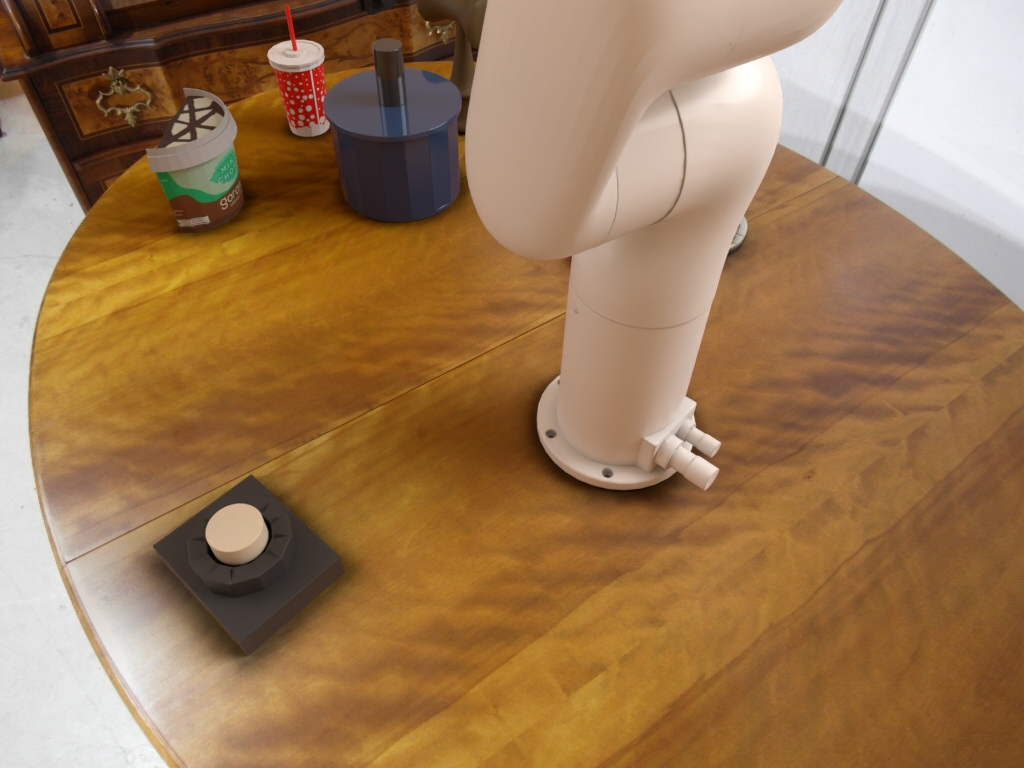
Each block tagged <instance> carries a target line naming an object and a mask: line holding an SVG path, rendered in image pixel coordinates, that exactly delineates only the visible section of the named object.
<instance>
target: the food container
mask: <svg viewBox="0 0 1024 768" xmlns="http://www.w3.org/2000/svg"><path fill="white" fill-rule="evenodd" d="M182 90H183V93H184V97H185V99H184V100H183V103H182V105H181V107H180V108H179V110H178V111H177V112H176V113H175V114H174V115H173V117H171V119H169V121H168V123H167V125H166V127H165V130H164V133H163V135H162V137H161V140H160V141H159V143H158V145H157V146H156V148H145V151H146V154H147V156H146V157H147V162H148V166H149V169H150V173H155V174H156V175H155V176H156V177H157V180H158V182H159V184H160V186H161V189H162V191H163V193H164V195H165V197H166V199H167V202H168V204H169V206H170V208H171V210H172V213H173V215H174V217H175V220H176V222H177V225H178V227H179V229H180V231H181V232H182V233H195V232H202V231H207V230H211V229H214V228H217V227H218V226H222V225H224V224H225V223H227V222H229V221H230V220H232V219H234V218H235V217H236V216H237V215H238V214H239V213H240V212H241V210H242V209H243V207H244V204H245V196H244V191H243V186H242V181H241V176H240V175H241V174H240V170H239V166H238V160H237V155H236V154H237V153H236V149H235V144H234V141H235V140H236V137H237V134H238V126H237V122H236V121H235V119H234V117H233V115H232V113H231V111H230V109H229V108H228V107H227V106H226V104H225V103H224V102H223V100H221V98H220V97H218V96H216V94H213V93H211V92H209V91H205V90H202V89H198V88H190V87H183V88H182Z"/></svg>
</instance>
